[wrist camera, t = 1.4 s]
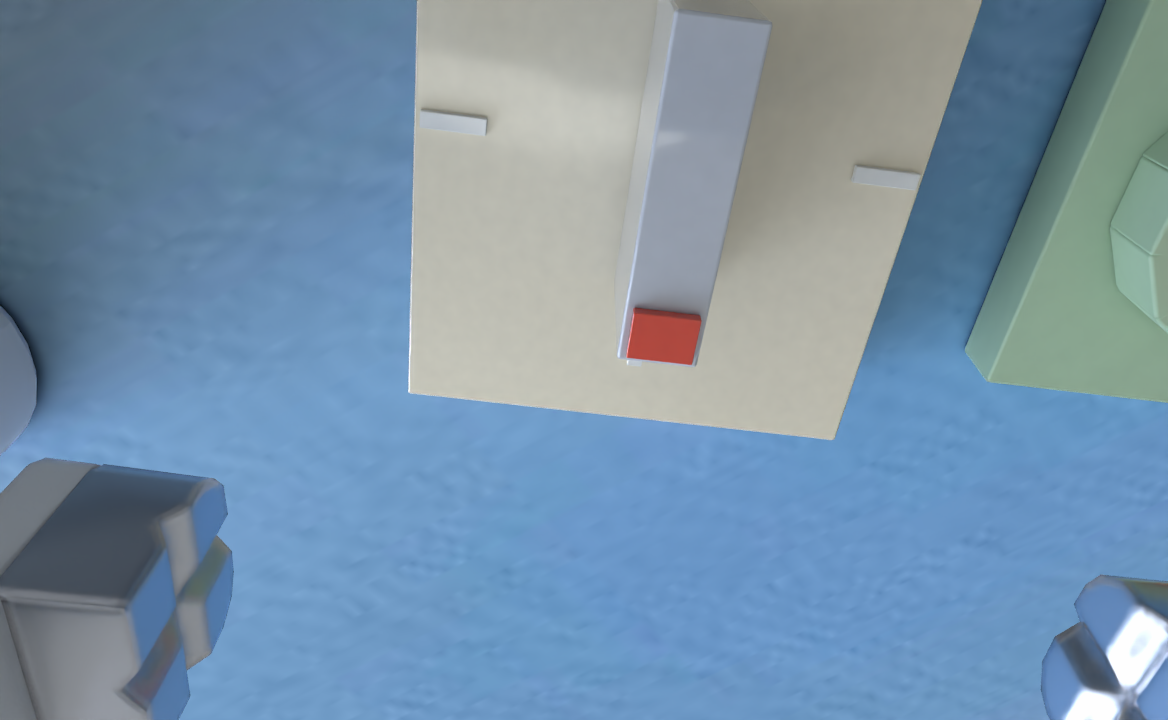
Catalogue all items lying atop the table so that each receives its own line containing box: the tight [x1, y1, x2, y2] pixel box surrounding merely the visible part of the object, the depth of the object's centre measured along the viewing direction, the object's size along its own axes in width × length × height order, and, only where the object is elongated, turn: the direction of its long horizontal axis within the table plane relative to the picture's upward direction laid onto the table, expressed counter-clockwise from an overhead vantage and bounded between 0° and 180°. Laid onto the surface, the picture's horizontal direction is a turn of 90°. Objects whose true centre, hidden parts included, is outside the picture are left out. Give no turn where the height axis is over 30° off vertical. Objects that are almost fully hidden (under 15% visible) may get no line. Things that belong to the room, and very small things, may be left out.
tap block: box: [408, 0, 982, 440], centre depth 19 cm, size 14×11×3 cm
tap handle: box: [614, 0, 773, 367], centre depth 17 cm, size 6×2×4 cm, turn 173°
